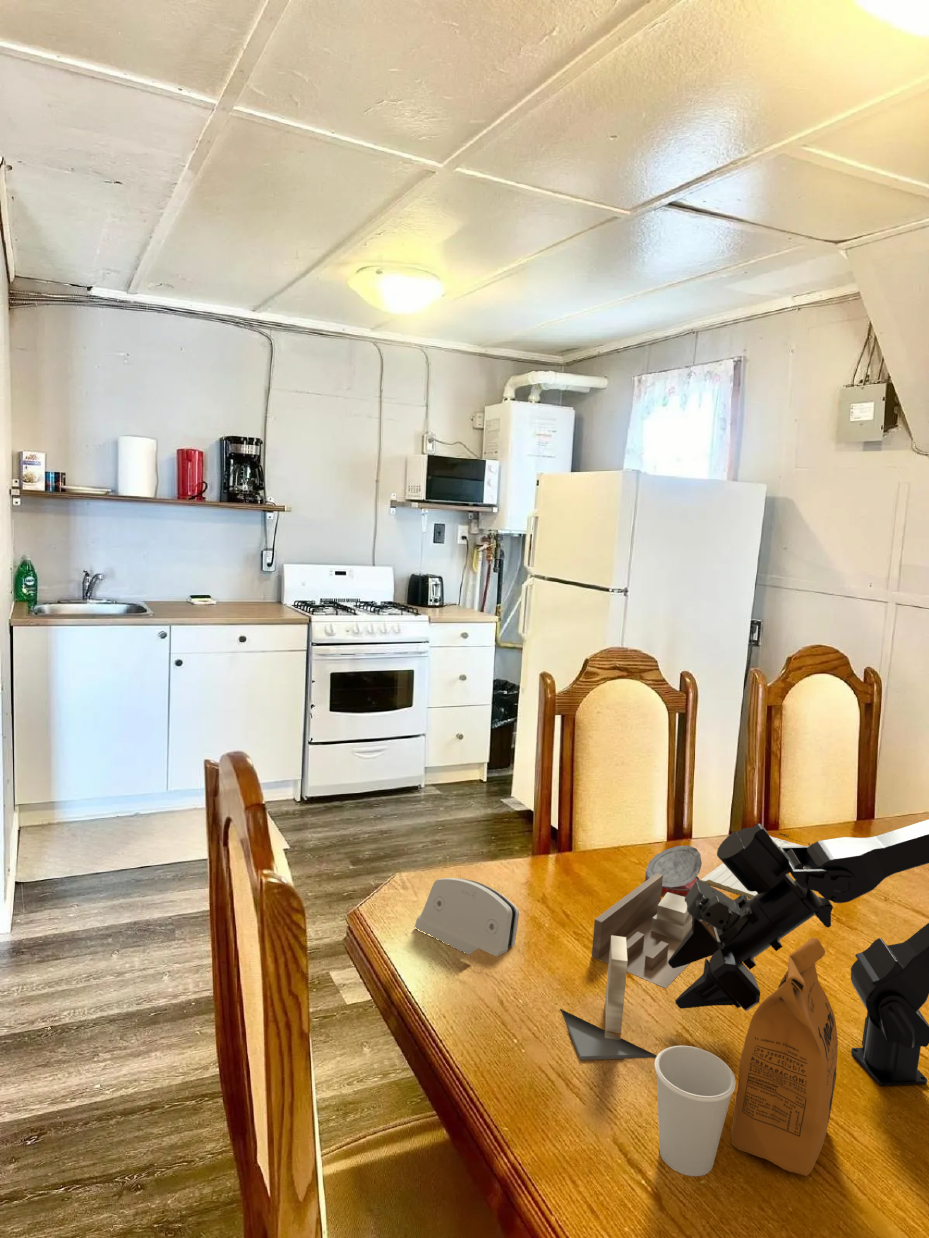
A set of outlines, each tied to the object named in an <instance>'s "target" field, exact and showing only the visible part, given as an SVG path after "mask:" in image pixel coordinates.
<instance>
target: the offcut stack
mask: <svg viewBox="0 0 929 1238" xmlns="http://www.w3.org/2000/svg"><path fill="white" fill-rule="evenodd" d="M691 927H692V915H690V914H689V913H688V911H687V903H686V902H685V897H683V896H679V895H676V894H672V893H669V892H667V893H666V894H664V896H663V898H661V901H660V903H659V904H658V907H657V914H656V915H655V916H654V917H653V918H652V928H651V931H654V932H656V933H659V934H662V935H664V936H667V937H669V938H672V939H674V940H677V941H680V942H682V941H683V940H684V939H685V937H686V936H687V934H688V933H689V931H690V930H691Z"/></svg>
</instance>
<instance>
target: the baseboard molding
mask: <svg viewBox="0 0 929 1238" xmlns="http://www.w3.org/2000/svg"><path fill="white" fill-rule="evenodd" d="M768 834H771V832H770V831H768ZM772 834H774V835H776V836H780V837H781V836H782V837H783V838H784V837H785V838H786V839H790V840H791V838H790V837H789V836H790V835H789V834H787V835H786V834H785V833H781V832H779V834H776V833H773V832H772ZM769 836H770V837H771V839H772V840H773V841H774V842H775V843H776V844H777V845H778V847H782V846H803V845H802V844H798V843H794V842H790V841H787V840H785V839H780V838H778V837H775V836H771V835H769ZM792 840H794V841H796V842H800V843H801V841H799V840H796V839H793V838H792ZM802 843H803V844H807V845H808V846H810V845H811V844H810V843H807V842H803V841H802ZM700 880H701V881H703V882H704V883H706V884H708V885H710V886H711V887H714V888H717V889H718V888H719V889H721V890H723V891H727V892H729V893H733V894H735V893H736V894H735V895H738V894H739V895H738V896H741V895H742V896H744V895H746V896H747V897H748V899H749V900H750V899H751V898H752V897H754V896H755V895H757V894H758V893H757V892H756V891H752V892H751V891H748V890H747V889H746V888H745V887H744V886H743V885H742V884H741V882H740V881H739V880H738V879H737V878H736V877H735V876H734V874H733V873H732V872H731V871H730V870H729V869H728V868H727V867H726V865H725V864H724V863H723V862H722V863H721V864H719V866H717V867H716V868H714V869H713V870H711V872H709V873H707V874H706V875H705V876H704V877H703V878H701V879H700Z"/></svg>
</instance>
